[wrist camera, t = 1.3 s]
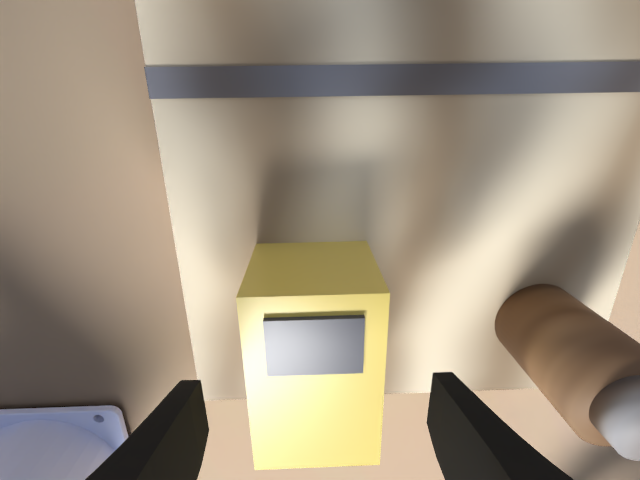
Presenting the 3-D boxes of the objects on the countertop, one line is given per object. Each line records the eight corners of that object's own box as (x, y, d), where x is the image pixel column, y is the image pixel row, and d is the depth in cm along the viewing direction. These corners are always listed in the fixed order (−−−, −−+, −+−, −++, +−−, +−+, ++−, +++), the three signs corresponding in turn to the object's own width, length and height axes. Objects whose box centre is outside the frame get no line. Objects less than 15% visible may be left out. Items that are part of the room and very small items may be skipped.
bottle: (489, 353, 17) (580, 477, 11) (501, 284, 16) (611, 385, 10) (564, 350, 17) (692, 472, 11) (582, 282, 16) (737, 380, 10)
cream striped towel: (207, 382, 18) (200, 402, 17) (129, -121, 11) (108, -147, 10) (571, 369, 19) (589, 388, 18) (709, -119, 12) (755, -145, 11)
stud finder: (267, 381, 17) (253, 475, 13) (256, 243, 15) (234, 301, 10) (362, 378, 17) (380, 469, 13) (366, 240, 15) (391, 296, 10)
